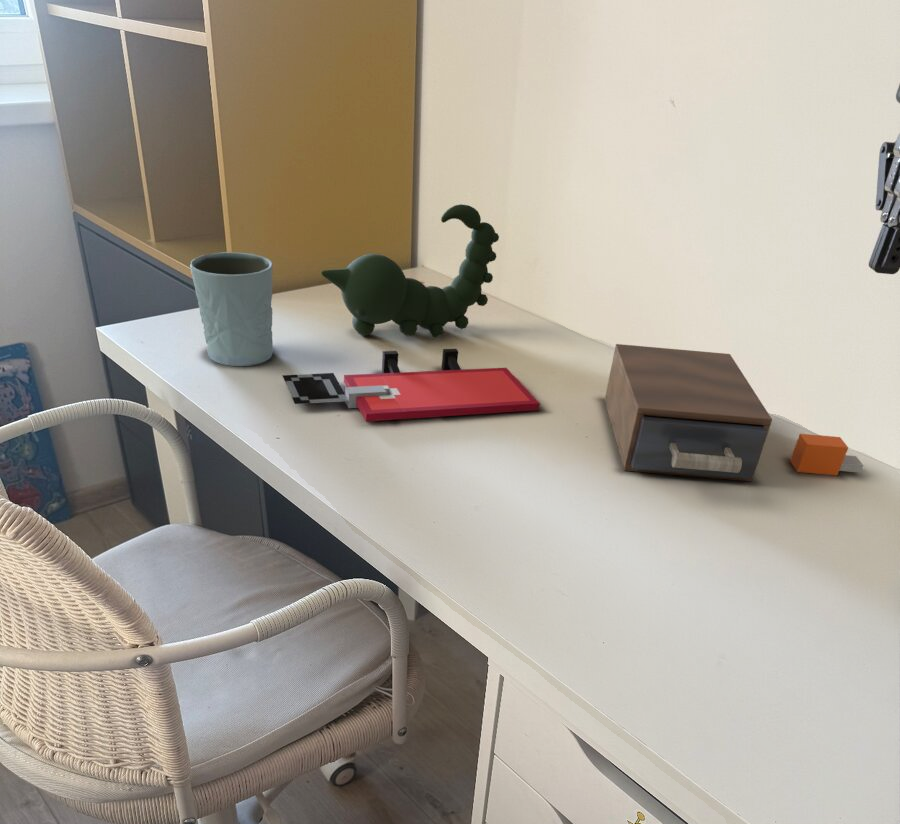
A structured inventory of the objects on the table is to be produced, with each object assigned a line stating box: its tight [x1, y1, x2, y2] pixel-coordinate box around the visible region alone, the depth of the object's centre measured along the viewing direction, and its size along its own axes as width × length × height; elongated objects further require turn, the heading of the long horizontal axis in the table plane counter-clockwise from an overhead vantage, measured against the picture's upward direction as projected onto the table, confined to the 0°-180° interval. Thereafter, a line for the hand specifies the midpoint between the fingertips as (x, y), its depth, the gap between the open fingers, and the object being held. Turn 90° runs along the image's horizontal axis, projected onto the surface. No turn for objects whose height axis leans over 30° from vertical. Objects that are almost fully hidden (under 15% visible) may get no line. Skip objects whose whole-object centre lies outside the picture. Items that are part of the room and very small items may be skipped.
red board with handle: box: [282, 348, 541, 422], centre depth 105 cm, size 30×3×15 cm
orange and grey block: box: [789, 433, 864, 476], centre depth 97 cm, size 7×3×4 cm, turn 88°
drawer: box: [631, 415, 768, 480], centre depth 96 cm, size 23×13×6 cm, turn 178°
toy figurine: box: [320, 204, 500, 338], centre depth 119 cm, size 9×19×25 cm
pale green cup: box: [189, 251, 274, 367], centre depth 109 cm, size 10×10×12 cm
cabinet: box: [604, 343, 773, 482], centre depth 99 cm, size 20×15×8 cm
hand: (881, 270), depth 74 cm, fingers closed
